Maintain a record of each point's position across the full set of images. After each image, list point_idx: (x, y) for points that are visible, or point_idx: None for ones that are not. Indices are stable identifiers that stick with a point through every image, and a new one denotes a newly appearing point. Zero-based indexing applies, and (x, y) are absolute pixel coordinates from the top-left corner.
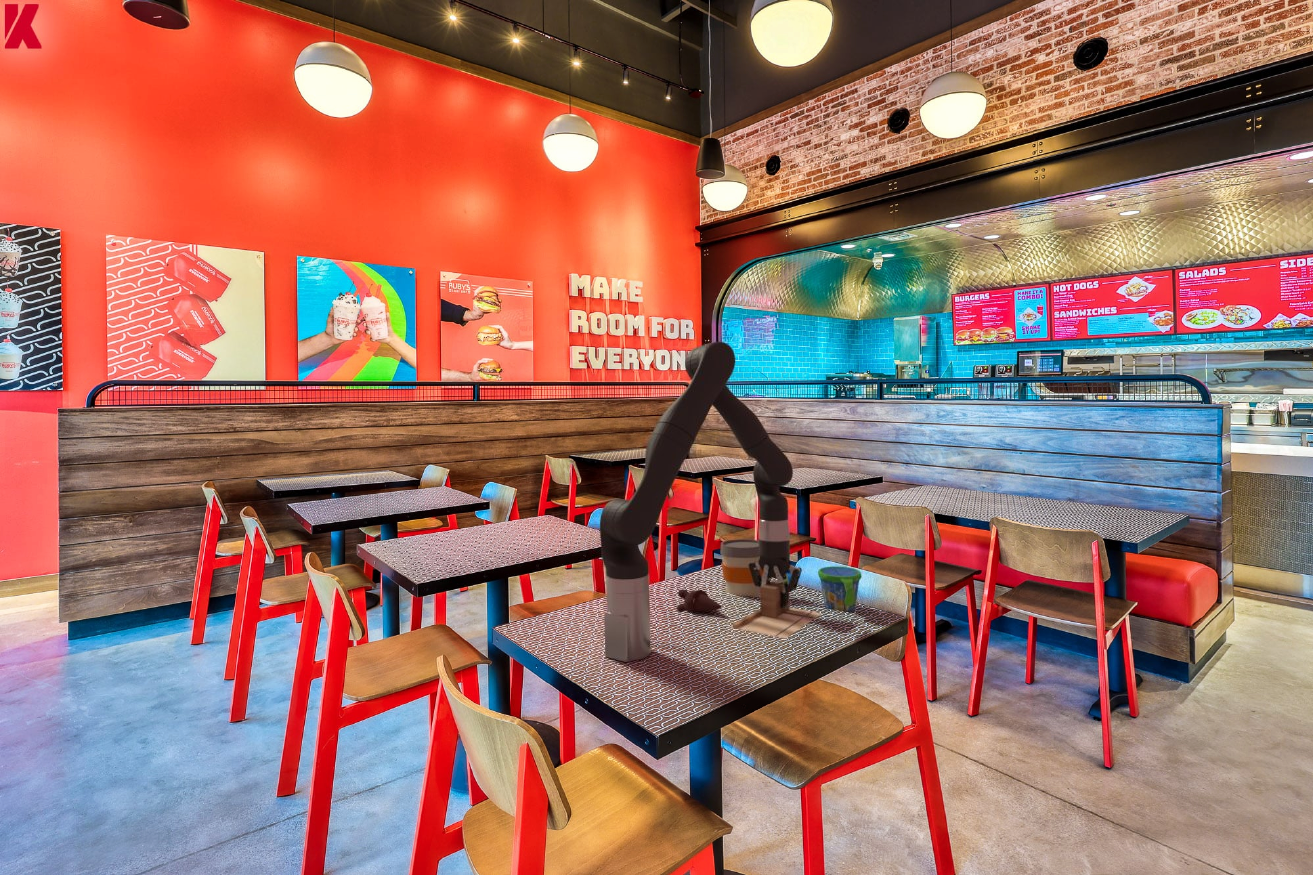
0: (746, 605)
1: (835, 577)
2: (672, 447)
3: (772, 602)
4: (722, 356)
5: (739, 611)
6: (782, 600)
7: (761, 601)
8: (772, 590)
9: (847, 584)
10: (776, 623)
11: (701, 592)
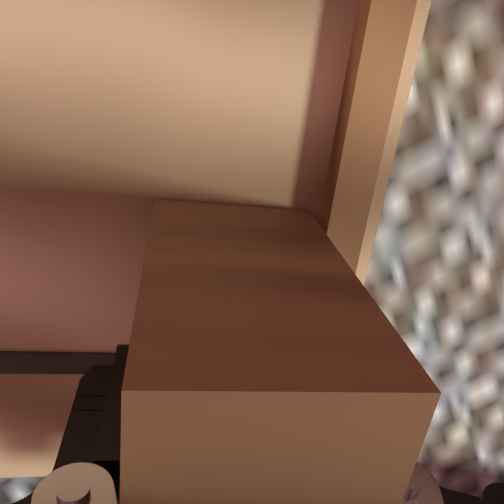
0: (477, 439)
1: None
2: None
3: (183, 265)
4: None
5: (500, 324)
6: (113, 390)
7: (335, 268)
8: (177, 364)
9: None
10: (68, 41)
11: None
